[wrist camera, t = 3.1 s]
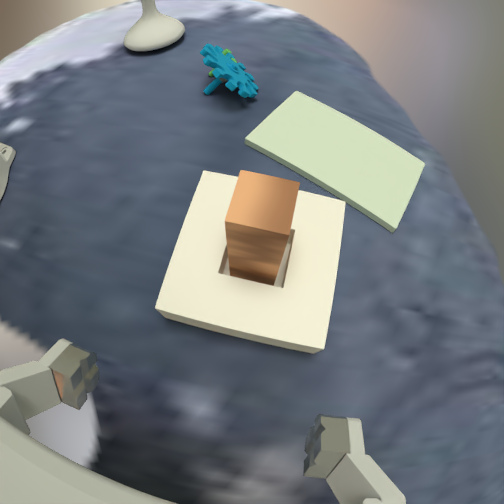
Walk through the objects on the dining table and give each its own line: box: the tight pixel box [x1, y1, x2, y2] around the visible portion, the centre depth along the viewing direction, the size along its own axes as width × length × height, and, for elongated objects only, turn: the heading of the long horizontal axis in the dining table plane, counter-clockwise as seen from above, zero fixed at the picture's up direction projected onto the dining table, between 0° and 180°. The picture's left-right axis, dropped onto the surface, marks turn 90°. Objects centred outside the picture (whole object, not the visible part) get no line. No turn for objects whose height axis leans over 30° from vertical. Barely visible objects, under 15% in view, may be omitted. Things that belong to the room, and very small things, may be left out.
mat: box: [245, 91, 425, 233], centre depth 37 cm, size 20×12×1 cm, turn 55°
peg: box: [225, 170, 300, 286], centre depth 25 cm, size 4×4×11 cm
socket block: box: [155, 171, 345, 354], centre depth 29 cm, size 14×14×4 cm
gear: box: [200, 44, 258, 98], centre depth 39 cm, size 11×6×10 cm
